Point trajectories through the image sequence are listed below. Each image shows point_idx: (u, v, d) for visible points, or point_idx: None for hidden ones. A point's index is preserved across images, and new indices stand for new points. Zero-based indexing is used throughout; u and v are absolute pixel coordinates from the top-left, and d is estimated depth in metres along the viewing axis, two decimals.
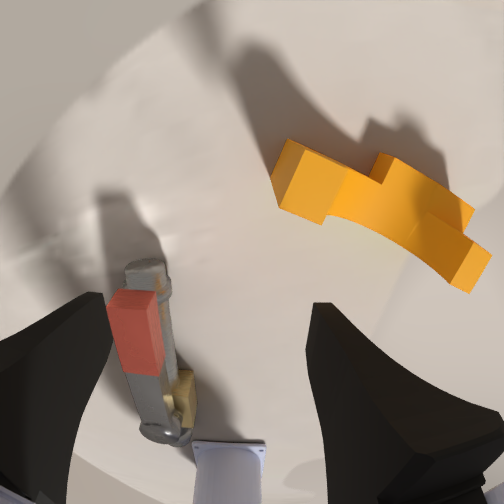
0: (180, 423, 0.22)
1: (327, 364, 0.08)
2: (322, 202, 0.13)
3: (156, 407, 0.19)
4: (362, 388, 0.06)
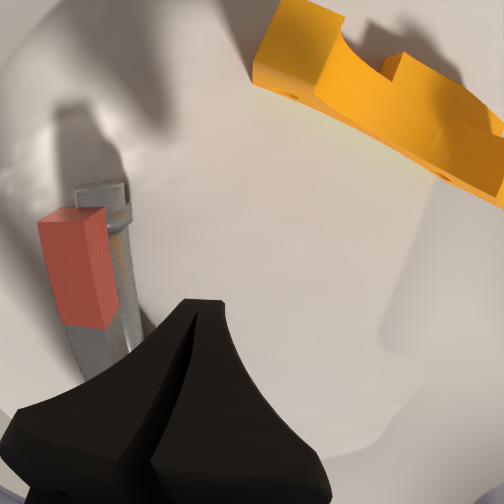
0: None
1: None
2: (314, 54, 0.08)
3: None
4: (182, 388, 0.06)
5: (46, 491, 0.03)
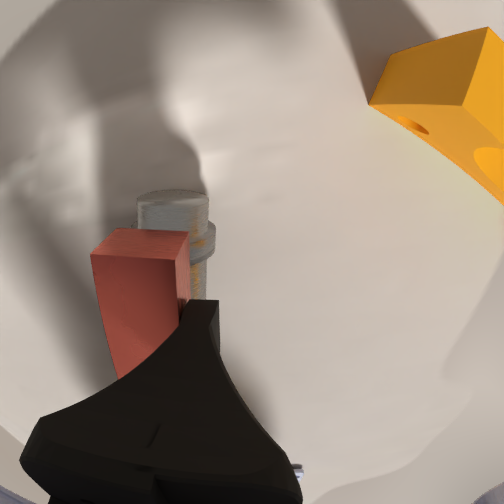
0: None
1: None
2: None
3: None
4: (161, 386, 0.06)
5: (69, 500, 0.03)
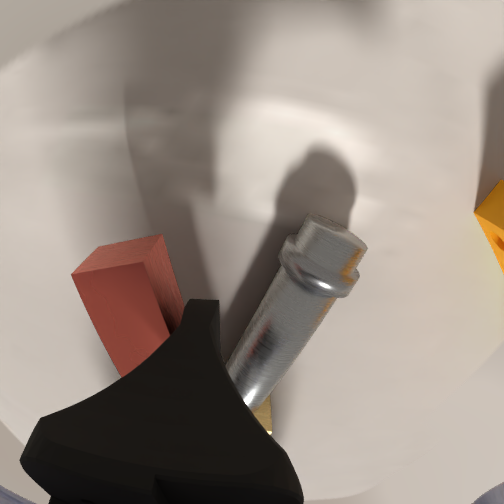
0: None
1: None
2: None
3: None
4: (161, 386, 0.06)
5: (70, 500, 0.03)
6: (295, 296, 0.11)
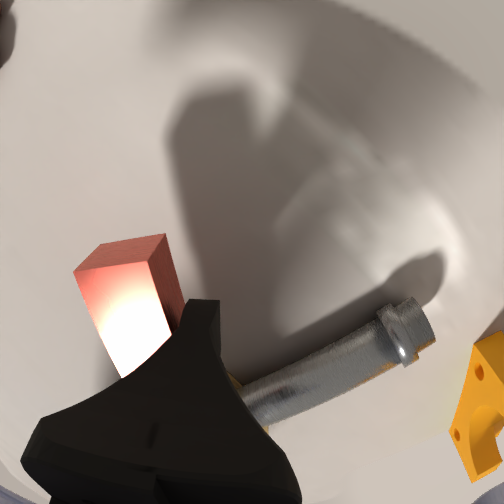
0: None
1: None
2: None
3: None
4: (160, 386, 0.06)
5: (70, 500, 0.03)
6: (381, 354, 0.13)
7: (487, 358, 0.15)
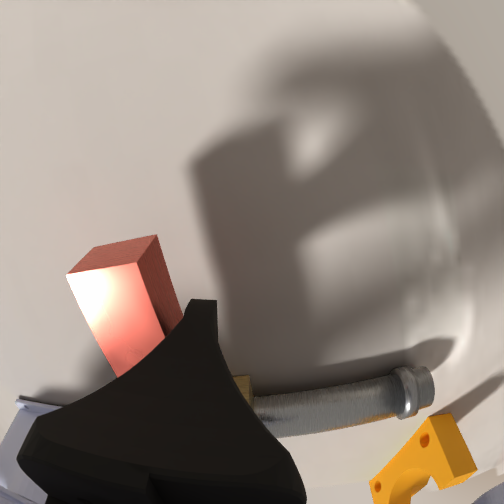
0: None
1: None
2: (451, 485, 0.14)
3: None
4: (163, 386, 0.06)
5: (66, 499, 0.03)
6: (394, 404, 0.14)
7: (436, 431, 0.18)
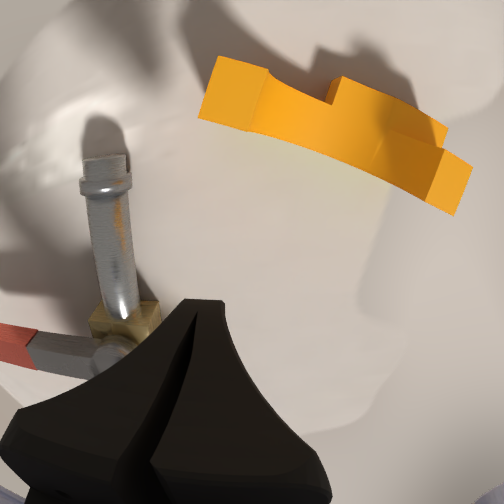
0: (107, 342, 0.18)
1: None
2: (244, 106, 0.11)
3: (62, 360, 0.17)
4: (182, 388, 0.06)
5: (46, 491, 0.03)
6: (89, 206, 0.16)
7: None
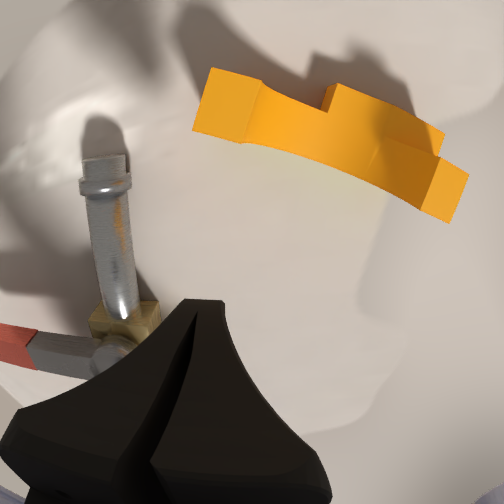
0: (107, 342, 0.18)
1: None
2: (238, 118, 0.11)
3: (62, 360, 0.17)
4: (182, 388, 0.06)
5: (46, 491, 0.03)
6: (89, 206, 0.16)
7: None
